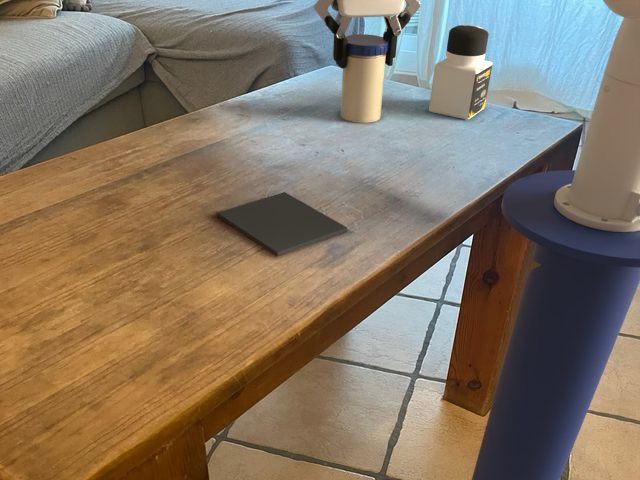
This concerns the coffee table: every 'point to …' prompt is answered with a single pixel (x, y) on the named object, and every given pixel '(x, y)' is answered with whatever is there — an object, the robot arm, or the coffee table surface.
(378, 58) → the jar
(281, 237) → the mat
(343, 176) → the coffee table surface
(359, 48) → the lid
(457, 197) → the coffee table surface
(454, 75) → the medicine bottle
